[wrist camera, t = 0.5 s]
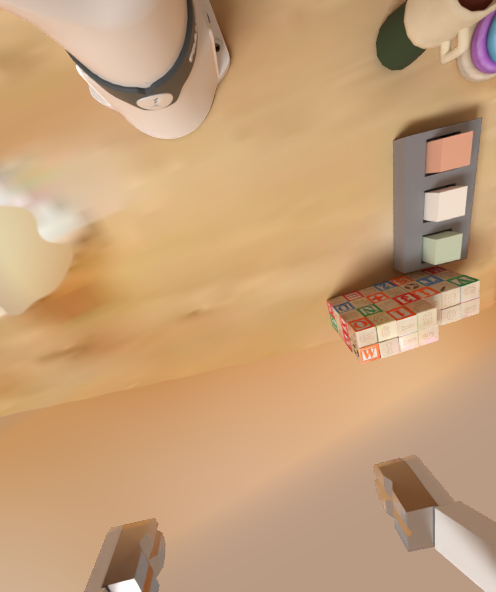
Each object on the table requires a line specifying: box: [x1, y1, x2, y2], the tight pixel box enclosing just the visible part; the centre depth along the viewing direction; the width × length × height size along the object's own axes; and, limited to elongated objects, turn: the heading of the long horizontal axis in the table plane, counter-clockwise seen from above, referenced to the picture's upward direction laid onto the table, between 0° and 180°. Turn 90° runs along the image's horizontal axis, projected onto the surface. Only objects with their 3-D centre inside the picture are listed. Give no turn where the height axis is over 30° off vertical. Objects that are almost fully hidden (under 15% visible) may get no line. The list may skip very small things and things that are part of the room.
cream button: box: [423, 186, 468, 222], centre depth 39 cm, size 4×4×3 cm
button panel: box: [393, 117, 482, 273], centre depth 41 cm, size 21×11×3 cm, turn 13°
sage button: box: [422, 231, 463, 265], centre depth 42 cm, size 4×4×3 cm
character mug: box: [376, 0, 496, 70], centre depth 28 cm, size 11×7×13 cm, turn 17°
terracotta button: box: [425, 131, 473, 174], centre depth 36 cm, size 4×4×3 cm
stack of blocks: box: [327, 266, 480, 364], centre depth 43 cm, size 21×6×12 cm, turn 108°
